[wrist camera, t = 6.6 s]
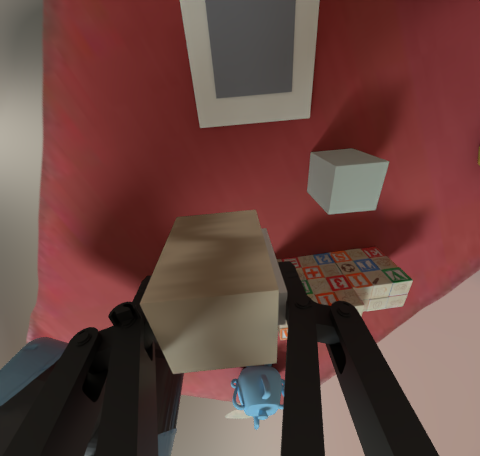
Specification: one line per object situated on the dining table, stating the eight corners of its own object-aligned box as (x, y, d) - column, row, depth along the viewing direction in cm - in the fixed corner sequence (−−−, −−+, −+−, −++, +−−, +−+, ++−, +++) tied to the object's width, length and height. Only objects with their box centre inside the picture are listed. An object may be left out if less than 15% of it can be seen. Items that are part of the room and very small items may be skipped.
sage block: (306, 191, 33) (328, 214, 26) (310, 152, 30) (336, 166, 23) (344, 188, 33) (375, 209, 26) (351, 148, 30) (389, 161, 23)
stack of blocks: (376, 244, 40) (431, 296, 29) (370, 269, 43) (417, 323, 32) (264, 260, 40) (278, 317, 29) (266, 283, 43) (280, 342, 33)
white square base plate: (200, 127, 28) (199, 128, 26) (173, -48, 20) (170, -58, 19) (306, 117, 28) (310, 118, 27) (320, -60, 20) (326, -70, 19)
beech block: (191, 275, 19) (172, 373, 12) (176, 217, 16) (139, 303, 9) (258, 269, 19) (276, 363, 12) (255, 209, 16) (278, 290, 9)
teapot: (266, 350, 57) (273, 400, 47) (289, 374, 62) (299, 422, 53) (227, 365, 60) (225, 415, 50) (252, 386, 65) (256, 435, 56)
